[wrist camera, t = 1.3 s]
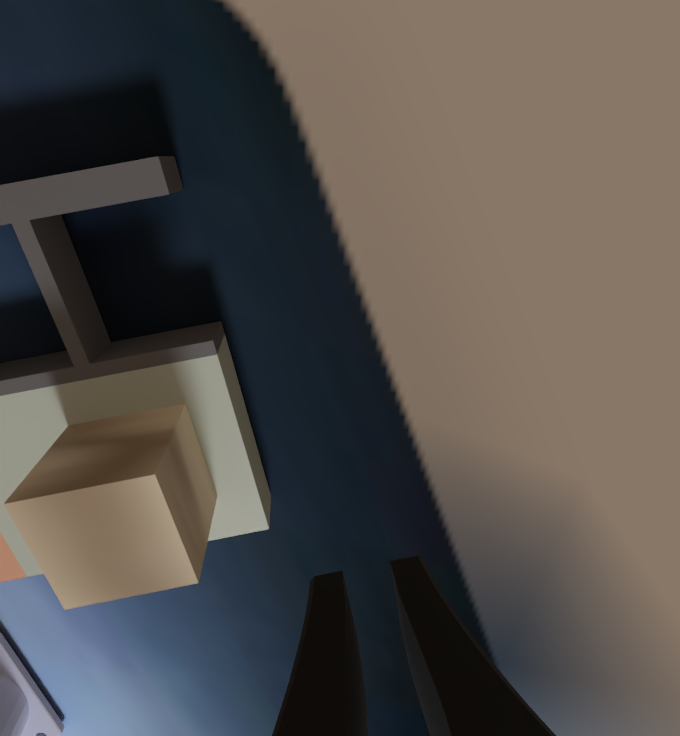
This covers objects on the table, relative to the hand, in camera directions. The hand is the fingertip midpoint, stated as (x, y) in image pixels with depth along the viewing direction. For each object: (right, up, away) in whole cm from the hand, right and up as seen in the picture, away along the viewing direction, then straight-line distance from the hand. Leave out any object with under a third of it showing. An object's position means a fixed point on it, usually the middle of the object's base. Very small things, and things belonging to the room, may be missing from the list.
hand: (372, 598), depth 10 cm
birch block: (-8, +2, +7) cm, 10 cm away
